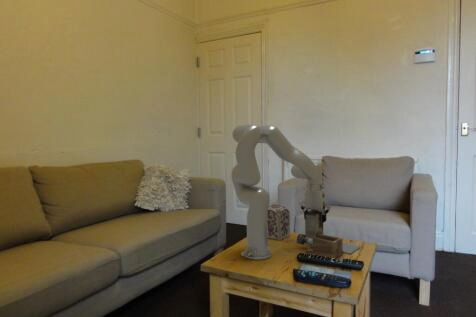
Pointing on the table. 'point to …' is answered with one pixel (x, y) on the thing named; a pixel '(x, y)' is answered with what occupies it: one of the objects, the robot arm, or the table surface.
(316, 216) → the coffee box
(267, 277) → the table surface
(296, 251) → the table surface
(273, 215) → the decorative jar
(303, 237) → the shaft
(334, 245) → the brown open box
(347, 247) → the spacer mat
